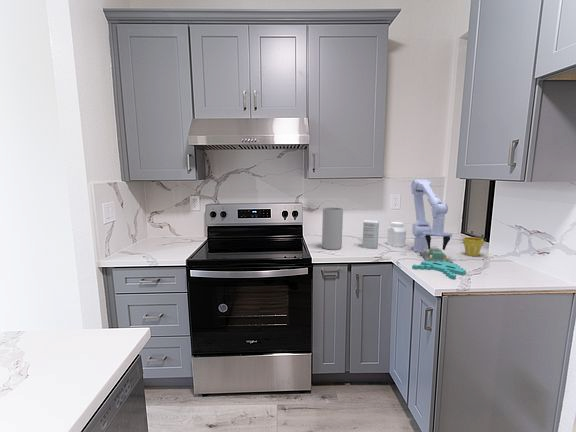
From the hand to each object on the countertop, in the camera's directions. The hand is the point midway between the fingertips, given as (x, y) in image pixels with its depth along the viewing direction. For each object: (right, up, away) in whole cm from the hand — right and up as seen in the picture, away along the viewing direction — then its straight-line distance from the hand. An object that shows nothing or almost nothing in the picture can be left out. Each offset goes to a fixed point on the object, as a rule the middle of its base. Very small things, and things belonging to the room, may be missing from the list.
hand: (436, 249), depth 171 cm
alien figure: (-7, -9, -19) cm, 22 cm away
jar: (-11, -1, +32) cm, 34 cm away
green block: (0, -4, +1) cm, 4 cm away
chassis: (0, -5, +1) cm, 5 cm away
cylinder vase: (-55, -2, +23) cm, 60 cm away
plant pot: (+26, -5, +9) cm, 27 cm away
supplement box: (-30, -2, +27) cm, 40 cm away
